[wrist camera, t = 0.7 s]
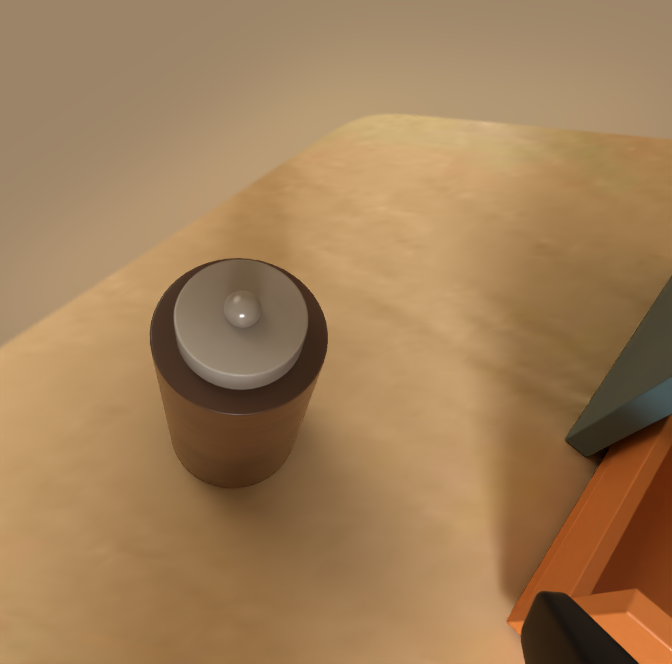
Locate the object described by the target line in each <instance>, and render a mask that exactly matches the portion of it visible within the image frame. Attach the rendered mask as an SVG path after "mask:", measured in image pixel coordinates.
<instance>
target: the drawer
mask: <svg viewBox="0 0 672 664" xmlns="http://www.w3.org/2000/svg"><path fill="white" fill-rule="evenodd" d="M540 591H554V592H563V593H565V594H567V595H569V596H570V597H571V598H572V599H573V600H574V601H575V602H576V603H577V604H578V605H579V606H580V607H581V608H582V609H583V610H584V611H585V612H587V613H588V614H589V615H590V616H591V617H592V618H593V619H594V620H595V621H596V622H597V623H598V624H599V625H600V626H601V627H602V628H603V629H604V630H605V631H606V632H607V633H608V634H609V635H610V636H611V637H612V638H613V639H614V640H616V641H617V642H618V643H619V644H620V645H621V646H622V647H623V648H624V649H625V650H626V651H627V652H628V653H629V654H630V655H631V656H632V657H633V658H634V659H635V660H636V661H637V662H638V663H639V664H672V414H670V415H668V416H666V417H664V418H662V419H660V420H658V421H656V422H654V423H652V424H650V425H648V426H646V427H645V428H643V429H641V430H639V431H637V432H635V433H633V434H631V435H629V436H627V437H625V438H623V439H621V440H619V441H617V442H615V443H613V444H612V445H611V447H610V449H609V450H608V452H607V454H606V455H605V457H604V459H603V460H602V462H601V464H600V465H599V467H598V468H597V470H596V472H595V473H594V475H593V477H592V478H591V480H590V482H589V483H588V485H587V487H586V488H585V490H584V492H583V493H582V495H581V497H580V498H579V500H578V502H577V503H576V505H575V507H574V508H573V510H572V512H571V513H570V515H569V517H568V518H567V520H566V522H565V523H564V525H563V527H562V528H561V530H560V532H559V533H558V535H557V537H556V538H555V540H554V542H553V543H552V545H551V547H550V548H549V550H548V552H547V553H546V555H545V557H544V558H543V560H542V562H541V563H540V565H539V567H538V568H537V570H536V572H535V573H534V575H533V577H532V578H531V580H530V582H529V583H528V585H527V587H526V588H525V590H524V592H523V593H522V595H521V597H520V598H519V600H518V602H517V603H516V605H515V607H514V608H513V610H512V612H511V614H510V616H509V617H508V619H507V623H508V624H509V625H510V626H511V627H512V628H513V629H514V630H516V631H517V632H518V633H519V634H520V635H521V630H522V626H523V623H524V621H525V618H526V616H527V614H528V611H529V609H530V607H531V605H532V602H533V600H534V598H535V596H536V594H537V593H538V592H540Z"/></svg>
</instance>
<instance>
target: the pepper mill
mask: <svg viewBox="0 0 672 664" xmlns="http://www.w3.org/2000/svg"><path fill="white" fill-rule="evenodd" d="M327 344H328V332H327V326H326V321H325V318H324V314H323V312H322V310H321V307H320V305H319V303H318V302H317V300H316V299H315V297H314V295H313V294H312V293H311V292H310V290H309V289H308V288H307V287H306V286H305V285H304V284H303V283H302V282H301V281H300V280H299V279H297V278H296V277H294V276H293V275H292V274H290V273H288V272H287V271H285V270H283V269H281V268H279V267H277V266H274V265H272V264H269V263H266V262H262V261H258V260H252V259H242V258H235V259H223V260H217V261H213V262H209V263H206V264H204V265H201V266H198V267H196V268H194V269H192V270H191V271H189V272H187V273H186V274H184V275H183V276H181V277H180V278H179V279H177V280H176V281H175V282H174V283H173V284H172V285H171V286H170V287H169V288H168V290H167V291H166V292H165V293H164V294H163V296H162V298H161V299H160V301H159V302H158V304H157V307H156V309H155V311H154V314H153V317H152V321H151V327H150V345H151V351H152V356H153V360H154V365H155V369H156V373H157V378H158V382H159V387H160V391H161V395H162V400H163V404H164V409H165V413H166V417H167V422H168V426H169V431H170V435H171V439H172V444H173V447H174V450H175V452H176V454H177V456H178V458H179V460H180V461H181V462H182V464H183V465H184V466H185V467H186V469H187V470H188V471H189V472H191V473H192V474H193V475H194V476H196V477H197V478H199V479H201V480H202V481H204V482H207V483H209V484H212V485H215V486H219V487H226V488H237V487H245V486H249V485H253V484H255V483H258V482H260V481H262V480H264V479H266V478H267V477H269V476H270V475H272V474H273V473H274V472H275V471H276V470H277V469H278V468H280V466H281V465H282V464H283V463H284V461H285V460H286V458H287V457H288V455H289V453H290V451H291V449H292V447H293V444H294V441H295V438H296V436H297V433H298V430H299V428H300V425H301V422H302V419H303V417H304V414H305V411H306V409H307V406H308V403H309V401H310V398H311V395H312V392H313V390H314V387H315V384H316V382H317V379H318V376H319V373H320V371H321V368H322V365H323V363H324V359H325V356H326V352H327Z"/></svg>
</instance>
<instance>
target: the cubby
mask: <svg viewBox="0 0 672 664" xmlns="http://www.w3.org/2000/svg"><path fill="white" fill-rule="evenodd" d="M670 414H672V276H671V278H670V279H669V281H668V282H667V284H666V285H665V287H664V288H663V290H662V291H661V293H660V295H659V296H658V298H657V299H656V301H655V302H654V304H653V305H652V307H651V308H650V310H649V311H648V313H647V314H646V316H645V318H644V319H643V321H642V322H641V324H640V325H639V327H638V328H637V330H636V331H635V333H634V334H633V336H632V337H631V339H630V341H629V342H628V344H627V345H626V347H625V348H624V350H623V351H622V353H621V354H620V356H619V357H618V359H617V360H616V362H615V364H614V365H613V367H612V368H611V370H610V371H609V373H608V374H607V376H606V377H605V379H604V380H603V382H602V383H601V385H600V387H599V388H598V390H597V391H596V393H595V394H594V396H593V397H592V399H591V400H590V402H589V403H588V405H587V406H586V408H585V410H584V411H583V413H582V414H581V416H580V417H579V419H578V420H577V422H576V423H575V425H574V426H573V428H572V429H571V431H570V433H569V434H568V436H567V437H566V439H565V440H566V441H567V442H568V443H569V444H571V445H572V446H573V447H574V448H575V449H577V450H578V451H579V452H580V453H582V454H583V455H584V456H585V457H588V456H590V455H592V454H594V453H596V452H598V451H600V450H602V449H604V448H606V447H608V446H610V445H611V444H613V443H615V442H617V441H619V440H621V439H623V438H625V437H627V436H629V435H631V434H633V433H635V432H637V431H639V430H641V429H643V428H645V427H646V426H648V425H650V424H652V423H654V422H656V421H658V420H660V419H662V418H664V417H666V416H668V415H670Z"/></svg>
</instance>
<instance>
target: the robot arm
mask: <svg viewBox="0 0 672 664" xmlns="http://www.w3.org/2000/svg"><path fill="white" fill-rule="evenodd" d="M521 643H522V649H523V654H524V659H525V664H639V663H638V662H637V661H636V660H635V659H634V658H633V657H632V656H631V655H630V654H629V653H628V652H627V651H626V650H625V649H624V648H623V647H622V646H621V645H620V644H619V643H618V642H617V641H616V640H614V639H613V638H612V637H611V636H610V635H609V634H608V633H607V632H606V631H605V630H604V629H603V628H602V627H601V626H600V625H599V624H598V623H597V622H596V621H595V620H594V619H593V618H592V617H591V616H590V615H589V614H588V613H587V612H585V611H584V610H583V609H582V608H581V607H580V606H579V605H578V604H577V603H576V602H575V601H574V600H573V599H572V598H571V597H570V596H569V595H567V594H565V593H563V592H554V591H540V592H538V593H537V594H536V596H535V598H534V600H533V602H532V605H531V607H530V609H529V611H528V614H527V616H526V618H525V621H524V623H523V626H522V630H521Z"/></svg>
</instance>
